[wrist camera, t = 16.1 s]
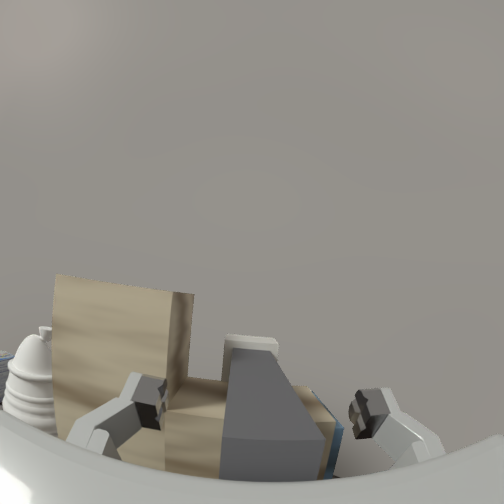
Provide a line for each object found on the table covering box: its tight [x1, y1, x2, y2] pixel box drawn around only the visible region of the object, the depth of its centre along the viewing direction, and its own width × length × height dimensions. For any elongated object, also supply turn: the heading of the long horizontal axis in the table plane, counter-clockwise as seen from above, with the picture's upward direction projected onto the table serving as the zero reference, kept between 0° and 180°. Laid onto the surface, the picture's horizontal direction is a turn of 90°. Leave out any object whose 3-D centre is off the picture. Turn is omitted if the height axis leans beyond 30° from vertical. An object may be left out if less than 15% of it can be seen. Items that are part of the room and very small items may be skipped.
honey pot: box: [2, 326, 58, 438], centre depth 30 cm, size 13×13×18 cm
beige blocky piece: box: [52, 274, 344, 480], centre depth 17 cm, size 8×19×26 cm, turn 93°
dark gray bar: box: [219, 334, 326, 482], centre depth 17 cm, size 20×4×4 cm, turn 3°
